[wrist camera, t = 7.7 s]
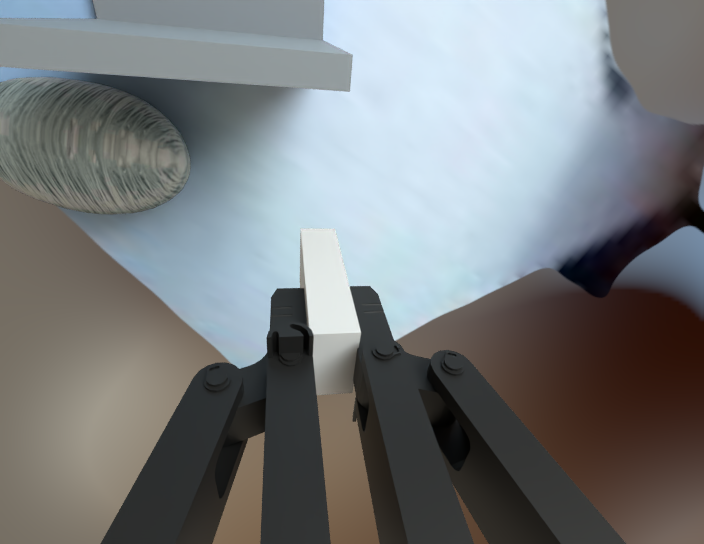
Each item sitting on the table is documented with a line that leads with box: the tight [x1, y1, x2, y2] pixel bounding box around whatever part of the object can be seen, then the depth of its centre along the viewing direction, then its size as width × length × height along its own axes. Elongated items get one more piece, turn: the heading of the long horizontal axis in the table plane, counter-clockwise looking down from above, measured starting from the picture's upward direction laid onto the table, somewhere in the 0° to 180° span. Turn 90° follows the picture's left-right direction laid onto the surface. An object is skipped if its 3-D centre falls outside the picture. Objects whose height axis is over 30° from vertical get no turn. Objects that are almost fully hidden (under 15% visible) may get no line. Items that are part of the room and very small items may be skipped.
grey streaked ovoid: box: [0, 77, 191, 214], centre depth 28 cm, size 14×10×10 cm
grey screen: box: [0, 0, 353, 92], centre depth 21 cm, size 6×16×16 cm, turn 85°
